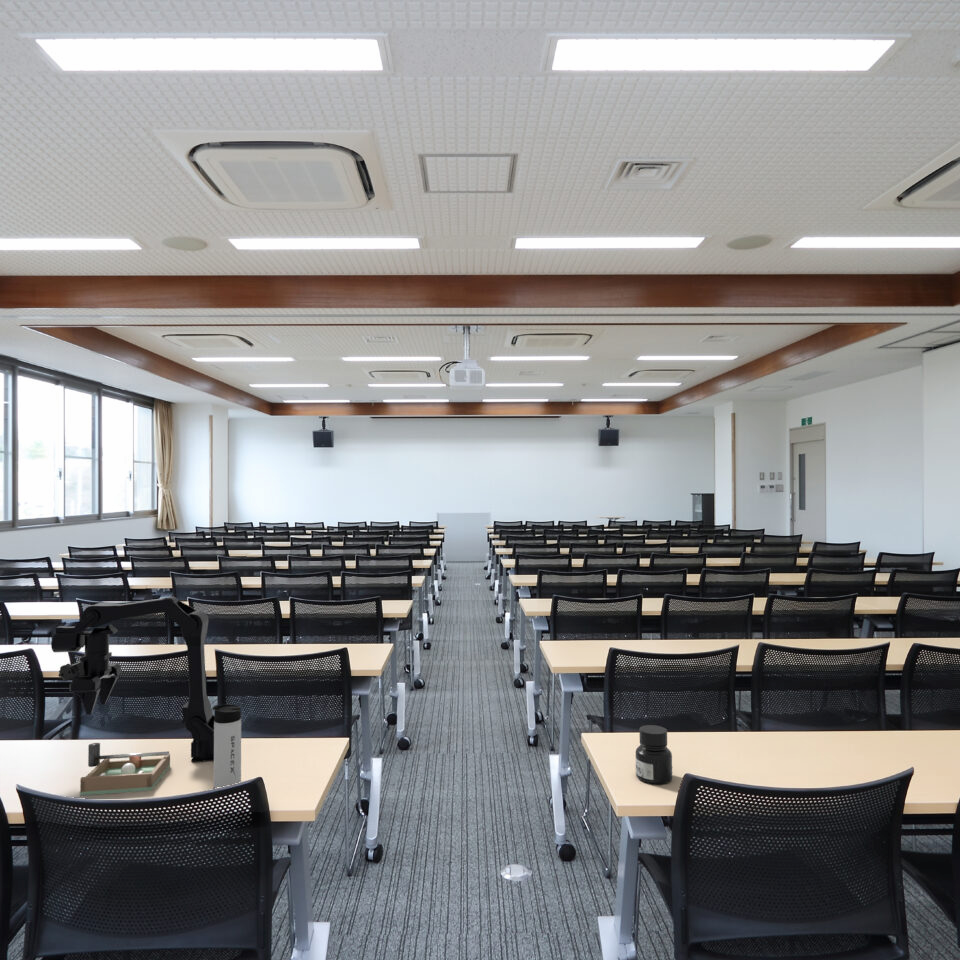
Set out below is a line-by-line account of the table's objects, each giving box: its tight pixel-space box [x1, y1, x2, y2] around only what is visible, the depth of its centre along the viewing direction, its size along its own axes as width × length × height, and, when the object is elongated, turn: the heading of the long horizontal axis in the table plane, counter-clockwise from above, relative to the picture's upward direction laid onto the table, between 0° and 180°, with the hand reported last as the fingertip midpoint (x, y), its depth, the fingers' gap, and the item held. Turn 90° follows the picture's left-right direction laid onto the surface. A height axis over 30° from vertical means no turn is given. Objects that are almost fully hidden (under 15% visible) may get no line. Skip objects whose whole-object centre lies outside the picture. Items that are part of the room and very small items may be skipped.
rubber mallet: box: [87, 742, 170, 768], centre depth 174 cm, size 20×3×6 cm, turn 99°
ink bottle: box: [635, 724, 673, 785], centre depth 168 cm, size 10×9×12 cm
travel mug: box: [212, 704, 242, 789], centre depth 164 cm, size 6×7×20 cm
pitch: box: [79, 753, 171, 796], centre depth 169 cm, size 16×15×4 cm
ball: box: [121, 763, 135, 774], centre depth 170 cm, size 3×3×3 cm
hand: (96, 709), depth 180 cm, fingers open, 9 cm apart
